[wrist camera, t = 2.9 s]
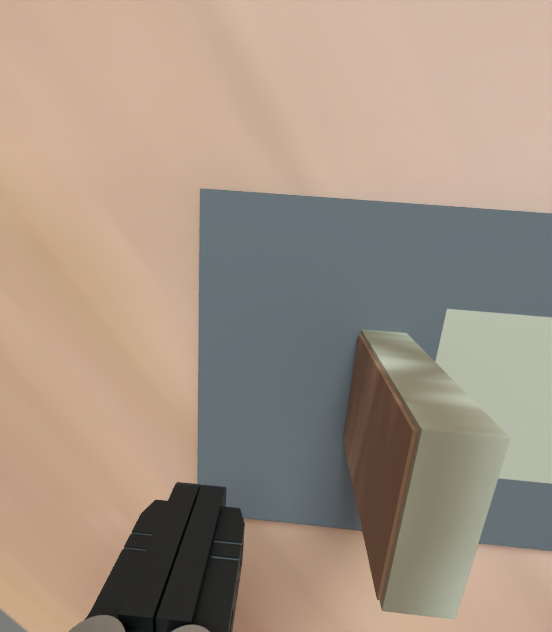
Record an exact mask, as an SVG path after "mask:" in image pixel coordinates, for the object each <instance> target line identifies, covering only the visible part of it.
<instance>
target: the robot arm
mask: <svg viewBox="0 0 552 632" xmlns="http://www.w3.org/2000/svg"><path fill="white" fill-rule="evenodd" d="M244 527H245V524H244V520H243V517H242V513H241V510H240V508H234V507H226V487H222V486H212V485H201V484H191V483H181V482H177V483H176V484H175V486H174V488H173V491H172V493H171V495H170V497H169V500H168V501H163V500H155V501H154V502H153V503H152V504H151V505H150V506H149V507H147V508H146V509H145V510H144V511H143V512H142V513H141V515H140V517H139V519H138V521H137V522H136V524H135V526H134V528H133V530H132V534H131V535H130V536H129V538H128V540H127V542H126V544H125V546H124V549H123V550H122V551H121V553H120V555H119V557H118V559H117V561H116V563H115V565H114V567H113V569H112V571H111V573H110V575H109V577H108V579H107V580H106V582H105V584H104V586H103V588H102V590H101V592H100V594H99V596H98V598H97V600H96V602H95V604H94V606H93V608H92V609H91V611H90V613H89V615H88V616H87V617H86V619H85V620H84V621H82V622H80V623H79V624H77V625H76V626H75V627H73V628H72V629H71V630H70V631H69V632H232V629H233V622H234V615H235V608H236V601H237V595H238V588H239V581H240V574H241V567H242V557H243V542H244Z"/></svg>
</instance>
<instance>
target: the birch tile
mask: <svg viewBox="0 0 552 632" xmlns="http://www.w3.org/2000/svg"><path fill="white" fill-rule="evenodd" d="M510 439H511V438H510V437H509V436H508V435H507V434H506V433H505V432H504V431H503V430H502V429H501V428H500V427H499V426H498V425H497V424H496V423H495V422H494V421H493V420H492V419H491V418H490V417H489V416H488V415H487V414H486V413H485V412H484V411H483V410H482V409H481V408H480V407H479V406H478V405H477V404H476V403H475V402H474V401H473V400H472V399H471V398H470V397H469V396H468V395H467V394H466V393H465V392H464V391H463V390H462V389H461V388H460V386H459V385H458V384H457V383H456V382H455V381H454V380H453V379H452V378H451V377H450V376H449V375H448V374H447V373H446V372H445V371H444V370H443V369H442V368H441V367H440V366H439V365H438V364H437V363H436V362H435V361H434V360H433V359H432V358H431V357H430V356H429V355H428V354H427V353H426V352H425V351H424V350H423V349H422V348H421V347H420V346H419V345H418V344H417V343H416V342H415V341H414V340H413V339H412V338H411V337H410V336H409V335H408V334H407V333H399V332H387V331H376V330H364V329H361V334H359V335H358V342H357V348H356V355H355V362H354V369H353V376H352V382H351V389H350V396H349V403H348V410H347V416H346V423H345V430H344V437H343V443H344V447H345V452H346V457H347V461H348V466H349V471H350V475H351V480H352V485H353V489H354V494H355V499H356V503H357V508H358V513H359V517H360V522H361V527H362V531H363V536H364V541H365V545H366V550H367V555H368V559H369V564H370V569H371V573H372V578H373V583H374V587H375V592H376V597H377V600H380V604H381V608H382V611H387V612H395V613H404V614H413V615H421V616H430V617H439V618H447V619H455V618H456V615H457V611H458V608H459V605H460V602H461V598H462V595H463V592H464V589H465V585H466V582H467V579H468V575H469V572H470V569H471V566H472V562H473V559H474V556H475V553H476V549H477V546H478V543H479V540H480V536H481V533H482V530H483V527H484V523H485V520H486V517H487V514H488V510H489V507H490V504H491V501H492V497H493V494H494V491H495V488H496V484H497V481H498V478H499V475H500V471H501V468H502V465H503V462H504V458H505V455H506V452H507V449H508V445H509V442H510Z"/></svg>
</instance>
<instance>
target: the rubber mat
mask: <svg viewBox="0 0 552 632" xmlns="http://www.w3.org/2000/svg"><path fill="white" fill-rule="evenodd" d="M361 329H364V330H376V331H387V332H399V333H407V334H408V335H409V336H410V337H411V338H412V339H413V340H414V341H415V342H416V343H417V344H418V345H419V346H420V347H421V348H422V349H423V350H424V351H425V352H426V353H427V354H428V355H429V356H430V357H431V358H432V359H433V360H434V361H435V362H436V363H437V364H438V365H439V366H440V367H441V368H442V369H443V370H444V371H445V372H446V373H447V374H448V375H449V376H450V377H451V378H452V379H453V380H454V381H455V382H456V383H457V384H458V385H459V386H460V388H461V389H462V390H463V391H464V392H465V393H466V394H467V395H468V396H469V397H470V398H471V399H472V400H473V401H474V402H475V403H476V404H477V405H478V406H479V407H480V408H481V409H482V410H483V411H484V412H485V413H486V414H487V415H488V416H489V417H490V418H491V419H492V420H493V421H494V422H495V423H496V424H497V425H498V426H499V427H500V428H501V429H502V430H503V431H504V432H505V433H506V434H507V435H508V436H509V437H510V438H511V439H510V442H509V445H508V449H507V452H506V455H505V458H504V462H503V465H502V468H501V471H500V475H499V478H498V481H497V484H496V488H495V491H494V494H493V497H492V501H491V504H490V507H489V510H488V514H487V517H486V520H485V523H484V527H483V530H482V533H481V536H480V540H479V543H482V544H492V545H501V546H510V547H520V548H529V549H538V550H548V551H552V214H550V213H536V212H522V211H508V210H494V209H480V208H466V207H452V206H438V205H424V204H410V203H396V202H382V201H368V200H354V199H340V198H326V197H312V196H298V195H284V194H270V193H256V192H242V191H228V190H214V189H200V253H199V372H198V484H201V485H212V486H222V487H226V507H234V508H240V510H241V513H242V517H243V518H249V519H258V520H267V521H277V522H286V523H295V524H305V525H314V526H323V527H333V528H342V529H352V530H361V531H362V527H361V522H360V517H359V513H358V508H357V503H356V499H355V494H354V489H353V485H352V480H351V475H350V471H349V466H348V461H347V457H346V452H345V447H344V443H343V437H344V430H345V423H346V416H347V410H348V403H349V396H350V389H351V382H352V376H353V369H354V362H355V355H356V348H357V342H358V335H359V334H361Z"/></svg>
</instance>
